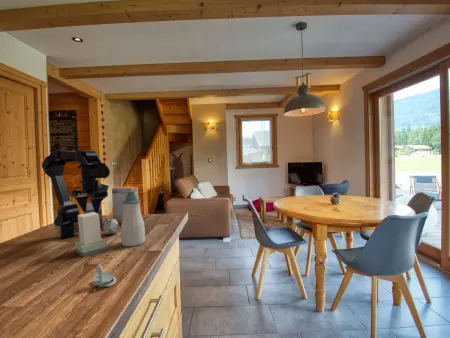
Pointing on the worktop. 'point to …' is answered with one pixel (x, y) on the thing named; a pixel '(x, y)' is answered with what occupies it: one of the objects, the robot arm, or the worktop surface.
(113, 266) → the worktop surface
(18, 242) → the worktop surface
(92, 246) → the slab upper
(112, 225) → the game die
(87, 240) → the post
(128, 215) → the soap bottle
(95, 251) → the slab lower
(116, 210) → the cracker box
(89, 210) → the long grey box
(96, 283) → the pacifier
